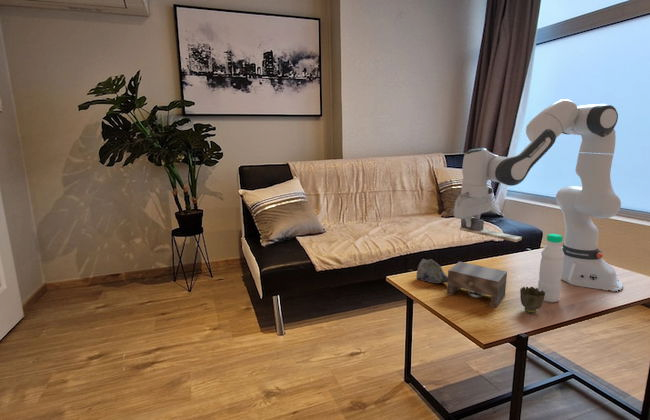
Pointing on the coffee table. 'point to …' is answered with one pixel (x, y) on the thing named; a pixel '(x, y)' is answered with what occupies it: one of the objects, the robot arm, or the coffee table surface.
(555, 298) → the water bottle
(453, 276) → the brown bridge block
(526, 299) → the cup
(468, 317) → the coffee table surface
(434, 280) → the mineral rock
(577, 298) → the coffee table surface
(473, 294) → the steel disc
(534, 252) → the coffee table surface
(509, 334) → the coffee table surface
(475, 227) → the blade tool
